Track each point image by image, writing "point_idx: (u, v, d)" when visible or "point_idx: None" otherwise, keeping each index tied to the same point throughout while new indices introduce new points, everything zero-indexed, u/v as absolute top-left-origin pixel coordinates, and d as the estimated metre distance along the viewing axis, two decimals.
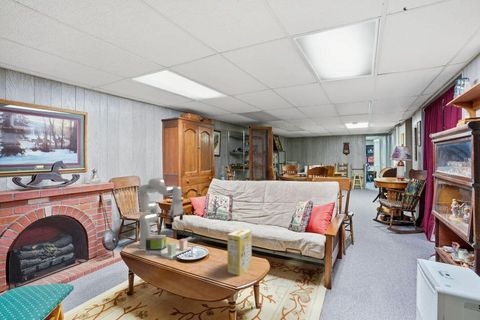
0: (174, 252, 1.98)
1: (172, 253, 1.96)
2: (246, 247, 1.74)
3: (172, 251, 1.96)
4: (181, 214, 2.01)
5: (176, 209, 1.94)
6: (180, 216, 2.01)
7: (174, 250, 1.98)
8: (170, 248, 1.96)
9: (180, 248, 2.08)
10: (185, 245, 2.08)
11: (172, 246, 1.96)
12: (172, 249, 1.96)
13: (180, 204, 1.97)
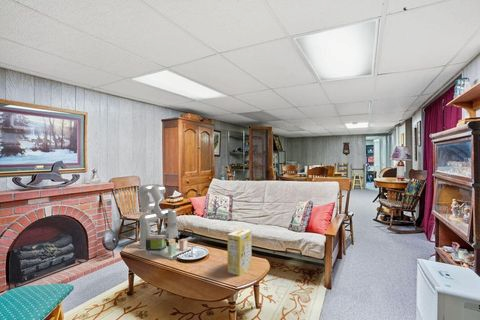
0: (174, 252, 1.98)
1: (172, 253, 1.96)
2: (246, 247, 1.74)
3: (172, 251, 1.96)
4: (176, 237, 2.02)
5: (171, 233, 1.95)
6: (176, 239, 2.02)
7: (174, 250, 1.98)
8: (170, 248, 1.96)
9: (180, 248, 2.08)
10: (185, 245, 2.08)
11: (172, 246, 1.96)
12: (172, 249, 1.96)
13: (175, 227, 1.99)
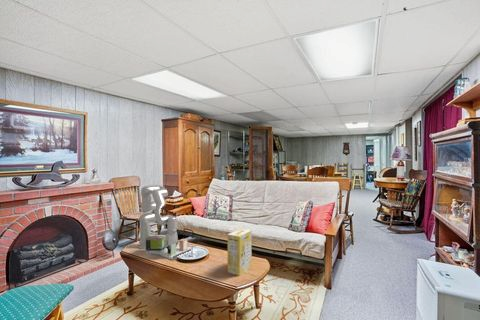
0: (174, 252, 1.98)
1: (172, 253, 1.96)
2: (246, 247, 1.74)
3: (172, 251, 1.96)
4: None
5: (171, 240, 1.95)
6: None
7: (174, 250, 1.98)
8: (170, 248, 1.96)
9: (180, 248, 2.08)
10: (185, 245, 2.08)
11: (172, 246, 1.96)
12: (172, 249, 1.96)
13: (175, 234, 1.99)
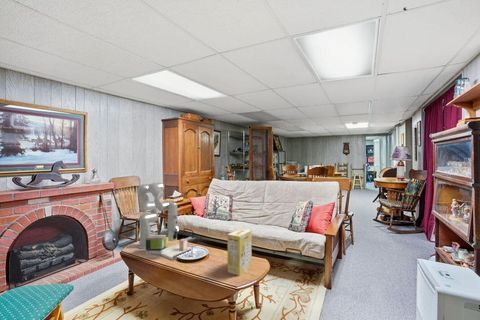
0: (170, 238, 1.95)
1: (169, 238, 1.97)
2: (246, 247, 1.74)
3: (169, 236, 1.97)
4: None
5: (168, 224, 1.97)
6: None
7: (170, 236, 1.95)
8: None
9: (180, 248, 2.08)
10: (185, 245, 2.08)
11: (169, 231, 1.97)
12: (169, 235, 1.97)
13: (172, 221, 1.95)
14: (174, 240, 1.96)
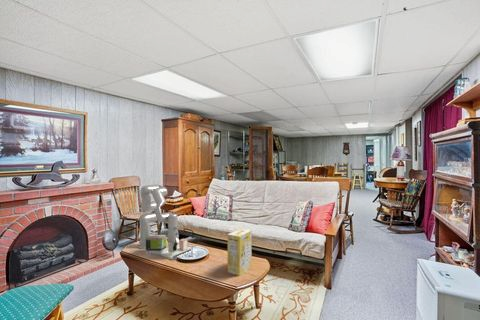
0: (170, 250, 1.95)
1: (169, 250, 1.96)
2: (246, 247, 1.74)
3: (169, 248, 1.97)
4: None
5: (168, 236, 1.97)
6: None
7: (170, 248, 1.95)
8: None
9: (180, 248, 2.08)
10: (185, 245, 2.08)
11: (169, 243, 1.97)
12: (169, 246, 1.96)
13: (171, 232, 1.95)
14: (174, 251, 1.96)
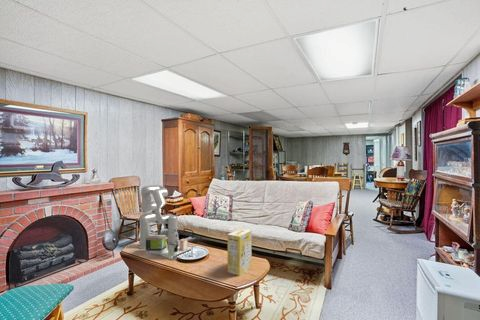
0: (170, 253, 1.95)
1: (169, 253, 1.96)
2: (246, 247, 1.74)
3: (168, 251, 1.97)
4: None
5: (168, 238, 1.97)
6: None
7: (170, 251, 1.95)
8: None
9: (180, 248, 2.08)
10: (185, 245, 2.08)
11: (169, 246, 1.97)
12: (169, 249, 1.97)
13: (171, 234, 1.95)
14: (174, 254, 1.96)
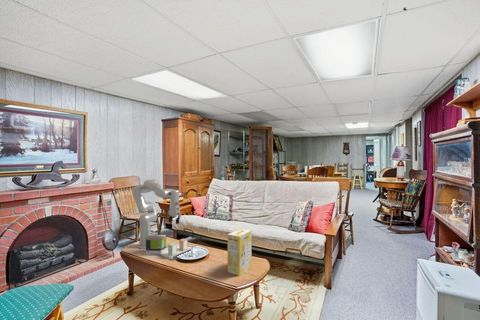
0: (170, 253, 1.95)
1: (169, 253, 1.96)
2: (246, 247, 1.74)
3: (168, 251, 1.97)
4: (177, 218, 2.04)
5: (170, 210, 2.07)
6: None
7: (170, 251, 1.95)
8: None
9: (180, 248, 2.08)
10: (185, 245, 2.08)
11: (169, 246, 1.97)
12: (169, 249, 1.97)
13: (173, 207, 2.04)
14: (174, 254, 1.96)
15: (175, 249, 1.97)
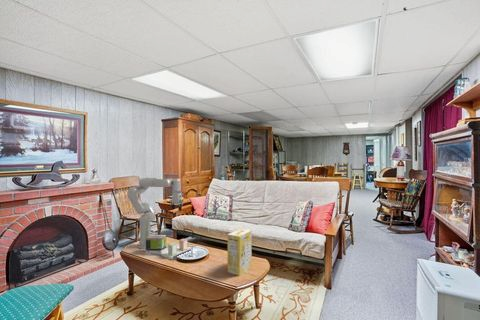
0: (170, 253, 1.95)
1: (169, 253, 1.96)
2: (246, 247, 1.74)
3: (168, 251, 1.97)
4: None
5: (173, 198, 2.17)
6: None
7: (170, 251, 1.95)
8: None
9: (180, 248, 2.08)
10: (185, 245, 2.08)
11: (169, 246, 1.97)
12: (169, 249, 1.97)
13: (176, 195, 2.15)
14: (174, 254, 1.96)
15: (175, 249, 1.97)
